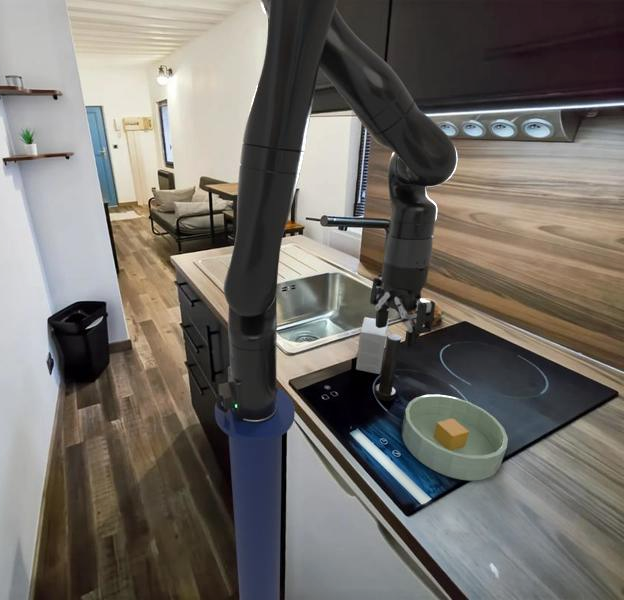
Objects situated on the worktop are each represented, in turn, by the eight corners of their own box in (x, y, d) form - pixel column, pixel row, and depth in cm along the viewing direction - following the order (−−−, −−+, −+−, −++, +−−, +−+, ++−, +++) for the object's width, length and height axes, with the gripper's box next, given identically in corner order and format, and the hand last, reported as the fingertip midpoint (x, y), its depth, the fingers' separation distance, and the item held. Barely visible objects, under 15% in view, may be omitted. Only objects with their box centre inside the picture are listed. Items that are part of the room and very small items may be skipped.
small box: (359, 352, 93) (364, 316, 89) (383, 357, 91) (388, 320, 87) (355, 369, 87) (359, 331, 82) (380, 375, 85) (386, 336, 80)
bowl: (446, 491, 57) (453, 469, 55) (384, 424, 71) (387, 404, 69) (522, 466, 61) (531, 444, 58) (449, 407, 74) (454, 387, 72)
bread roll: (428, 322, 112) (425, 296, 112) (453, 323, 102) (450, 295, 102) (399, 326, 111) (396, 300, 111) (421, 328, 101) (418, 299, 101)
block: (448, 451, 63) (452, 436, 62) (433, 436, 67) (436, 422, 65) (465, 446, 64) (469, 431, 63) (448, 432, 67) (452, 417, 66)
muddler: (382, 402, 76) (391, 343, 70) (370, 391, 80) (378, 334, 74) (398, 398, 77) (409, 340, 71) (386, 387, 81) (395, 330, 75)
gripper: (364, 251, 71) (357, 324, 78) (417, 275, 58) (403, 359, 65) (397, 246, 72) (387, 317, 79) (456, 268, 60) (438, 351, 67)
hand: (394, 336), depth 72 cm, fingers open, 8 cm apart
